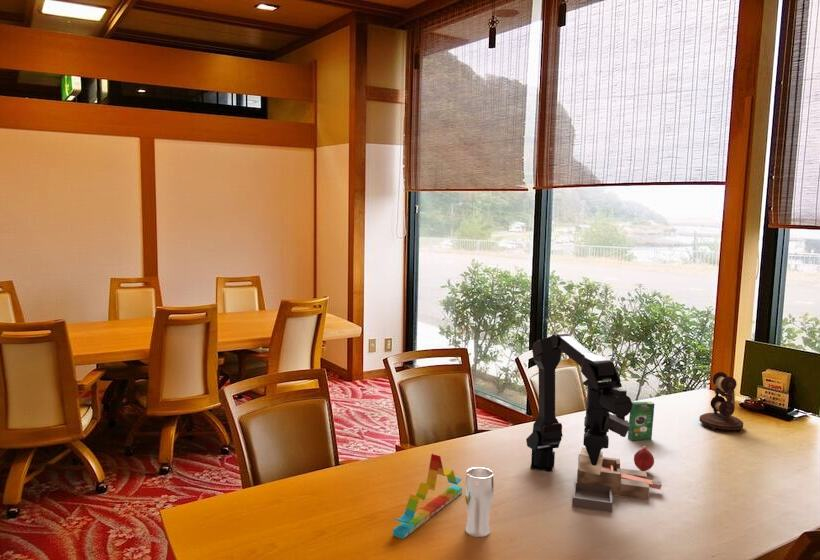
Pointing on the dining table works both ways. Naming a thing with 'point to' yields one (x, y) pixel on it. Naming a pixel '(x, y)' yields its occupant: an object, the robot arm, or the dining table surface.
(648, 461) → the onion
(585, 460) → the block
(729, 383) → the brown roll holder stand
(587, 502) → the tray
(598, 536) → the dining table surface
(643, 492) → the brown wooden lever base
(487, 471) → the beer glass
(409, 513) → the chart
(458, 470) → the dining table surface
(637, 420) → the coffee box
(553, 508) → the dining table surface
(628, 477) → the lever
